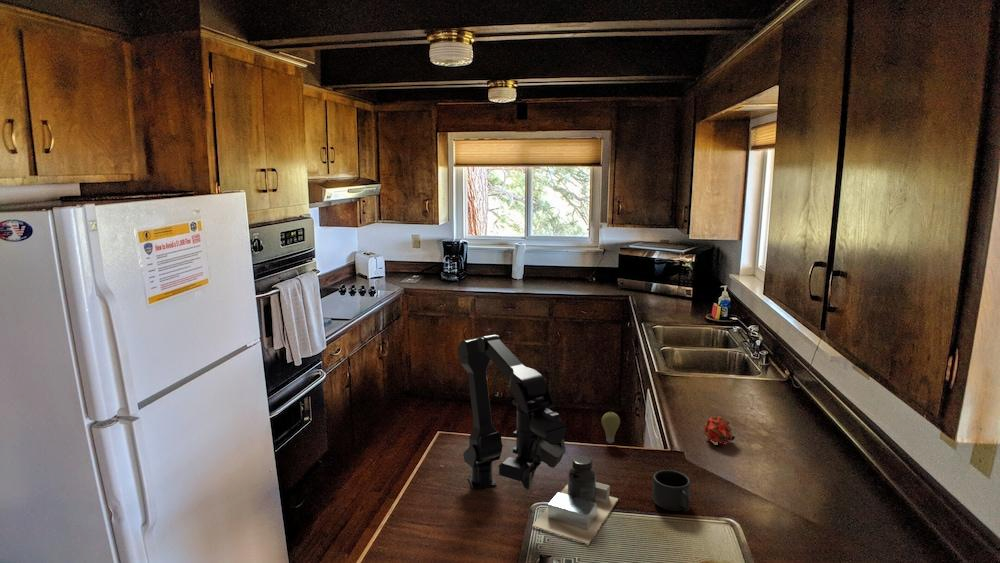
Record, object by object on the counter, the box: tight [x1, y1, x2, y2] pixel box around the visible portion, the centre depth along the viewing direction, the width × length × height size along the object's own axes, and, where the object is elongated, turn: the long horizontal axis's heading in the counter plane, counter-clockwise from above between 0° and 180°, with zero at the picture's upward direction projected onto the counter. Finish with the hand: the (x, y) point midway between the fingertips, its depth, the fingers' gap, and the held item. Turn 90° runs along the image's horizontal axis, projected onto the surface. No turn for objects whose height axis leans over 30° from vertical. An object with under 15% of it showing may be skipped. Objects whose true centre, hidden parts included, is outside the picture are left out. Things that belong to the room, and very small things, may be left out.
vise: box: [531, 481, 619, 546], centre depth 139 cm, size 21×14×4 cm, turn 151°
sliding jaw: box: [547, 492, 597, 529], centre depth 136 cm, size 6×10×4 cm, turn 61°
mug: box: [651, 469, 692, 512], centre depth 141 cm, size 12×9×7 cm
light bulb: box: [601, 411, 621, 444], centre depth 176 cm, size 6×6×10 cm
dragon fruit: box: [703, 415, 736, 445], centre depth 177 cm, size 8×8×12 cm
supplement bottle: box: [567, 454, 597, 502], centre depth 141 cm, size 7×7×12 cm
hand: (527, 488), depth 135 cm, fingers closed
